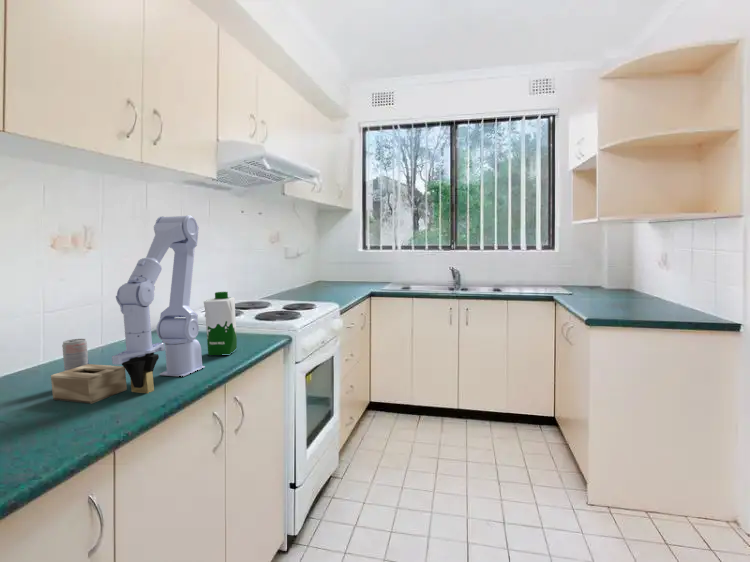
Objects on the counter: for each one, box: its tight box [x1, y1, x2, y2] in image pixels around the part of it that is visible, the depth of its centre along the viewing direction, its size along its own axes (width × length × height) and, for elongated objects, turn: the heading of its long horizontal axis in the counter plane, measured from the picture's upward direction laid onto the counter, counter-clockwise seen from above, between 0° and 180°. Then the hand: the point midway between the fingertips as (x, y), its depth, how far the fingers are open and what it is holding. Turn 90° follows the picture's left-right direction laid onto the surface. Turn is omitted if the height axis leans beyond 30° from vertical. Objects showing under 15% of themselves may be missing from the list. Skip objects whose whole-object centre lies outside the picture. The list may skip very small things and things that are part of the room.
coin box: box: [50, 363, 128, 404], centre depth 113 cm, size 10×12×6 cm
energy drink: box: [61, 338, 90, 371], centre depth 121 cm, size 5×5×12 cm
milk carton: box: [203, 291, 238, 356], centre depth 151 cm, size 9×9×20 cm
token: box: [130, 370, 155, 394], centre depth 115 cm, size 2×5×5 cm, turn 72°
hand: (142, 385), depth 115 cm, fingers closed on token, 2 cm apart
